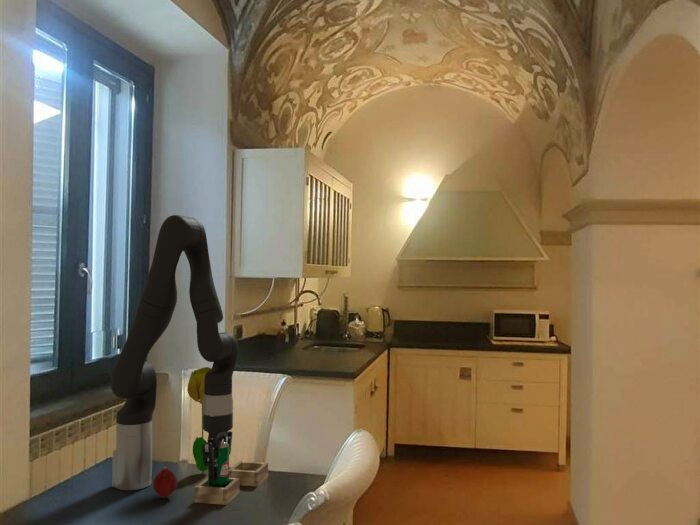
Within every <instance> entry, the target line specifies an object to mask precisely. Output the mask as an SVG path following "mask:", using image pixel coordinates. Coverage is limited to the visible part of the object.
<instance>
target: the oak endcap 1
mask: <svg viewBox="0 0 700 525" xmlns="http://www.w3.org/2000/svg"><path fill="white" fill-rule="evenodd" d="M240 486H241V485H240V478H229V484H228V485H227V486H226V487H225V488H220V487H209V480H208V477H206V478H205V479H204V480H202V481H201V482H200V483H198V484H197V485H195V486H194V503H198V504H213V505H224V506H227V505H228V504H229V503H231V501H233V500H234V499H235V498H236V497H237V496H238V495H240V490H241V489H240V488H241V487H240Z"/></svg>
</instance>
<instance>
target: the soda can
mask: <svg viewBox="0 0 700 525" xmlns="http://www.w3.org/2000/svg"><path fill="white" fill-rule="evenodd" d="M217 452H218V449H217V451H214V454H216V453H217ZM214 460H215V457H214ZM217 466H218V480H217V481H216V482H210V481H209V487H220V488H225V487H226V486H227V485H228V484H229V469H230V455H229V444H228V441H227V442H226V441H225V442H224V444H223V445H222V446H221V456H220V457H219V458H218V465H217Z"/></svg>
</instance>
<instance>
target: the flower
mask: <svg viewBox="0 0 700 525" xmlns="http://www.w3.org/2000/svg"><path fill="white" fill-rule="evenodd" d="M211 368H212V367H208V366H205V367H202V368H197V369H196V370H195V369H194V370H193V371H191V373H190V376H189V380H188V383H187V395H188V396H189V397H190V398H191V399H192V400H194V401H195V402H197V403H199V404H201V436H200V437H198V436H196V438H195V440H193V441H194V442H193V445H192V454H193V455H192V456H193V458H194V461H195V465H196V469H197V470H198V471H201V474H204V473H205V472H206V471H208V466H204V462H203V452H202V444H207V441H206V439H205V438H204V430H203V400H204V379H205V374H206V373H207V372H208V371H209V370H210V369H211ZM207 460H208V458H207Z"/></svg>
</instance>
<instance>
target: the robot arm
mask: <svg viewBox="0 0 700 525" xmlns="http://www.w3.org/2000/svg"><path fill="white" fill-rule="evenodd" d="M155 244H156V245H155V250H154V252H153V257H152V262H151V266H150V268H149V271H148V275H147V278H146V281H145V285H144V287H143V290H142V293H141V296H140V298H139V302H138V305H137V307H136V311H135V315H134V317H133V320H132V323H131V327H130V329H129V332H128V335H127V337H126V340H125V342H124V346H123V348H122V350H121V352H120V354H119V356H118V359H117V361H116V363H115V364H114V367H113V370H112V372H111V376H110V389H111V391H112V393H113V395H114V397H117V398H118V399H122V400H123V399H126V400H125V402H124V404H123V405H122V407H121V408H120V409H119V410H118V411H117V413H116V415H115V416H116V418H115V419H116V425H115V429H116V431H115V433H116V434H115V441H116V442H115V449H114V450H113V451H112V471H111V472H112V477H111V478H112V480H111V482H112V488H116V489H118V490H121V491H136V490H141V489H144V488H147V487H149V486H151V485H152V478H153V474H152V473H153V472H152V471H153V414H154V411H155V409H156V403H157V401H156V400H157V389H158V386H157V385H158V384H157V383H158V381H157V372H156V370H155V369H156V368H155V367H154V365H153V364H152V363H151V362H149V361H146V360H147V358H148V355H149V353H150V351H151V349H152V348H153V347H154V346H155V345H156V343H157V342H158V340H160V338H161V336H162V335H163V334H164V333H165V331H166V330H167V328H168V327H169V325H170V322H171V320H172V318H173V315H174V312H175V309H176V306H177V302H178V289H177V281H176V271H177V266H178V264H179V260H180V257H181V255H182V253H183V252H184V254H185V257H186V259H187V261H188V264H189V265H188V266H189V270H190V276H189V278H190V279H189V286H188V287H189V291H188V292H189V293H188V294H189V295H188V296H189V301H190V306H191V308H192V312H193V315H194V319H195V321H196V342H197V343H196V344H197V350H198V352H199V353H200V356H201V357H202V359H204V361H206V362H208V363H212V366H211V367H210V368H211V369H210V370H209V371H208V372H207V373H206V374H205V379H204V400H203V432H206V433H208V435H207V441H206V442H207V444H202V452H203V462H204V466H208V470H207V472H208V473H207V474H208V475H207V476H208V480H209V481H210V482H216V481H217V480H218V466H217V465H218V458H219V457H220V456H221V446H222V445H223V444H224V442H225V441H226V442H227V441H228V444H229V456H230V455H231V451H232V441H233V431H232V430H233V426H234V422H233V421H234V400H233V398H234V397H233V375H234V372H235V367H236V363H237V360H238V354H239V353H238V352H239V348H238V347H239V345H238V341H237V339H236V337H235V336H234V334H232V333H231V332H226V331H224V332H219V323H221V322H222V321H223V319H224V314H223V309H222V305H221V303H220V300H219V296H218V294H217V290H216V286H215V282H214V278H213V272H212V266H211V260H210V253H209V252H210V251H209V246H208V238H207V233H206V228H205V226H204V224H203V223H202V222H201V221H200V220H199V219H197V218H195V217H190V216H184V215H178V214H172V215H170V216H168V217H166V218H165V220H164V221H163V222H162V224H161V226H160V228H159V231H158V235H157V240H156V243H155ZM217 449H218V452H217V453H216V454H214V451H217ZM214 457H215V460H214ZM207 458H208V460H207Z"/></svg>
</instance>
